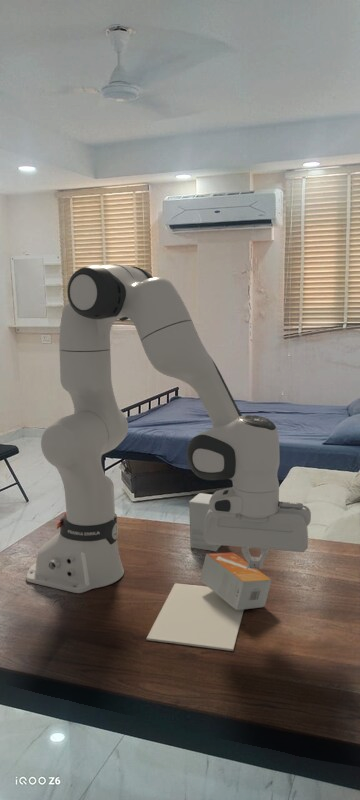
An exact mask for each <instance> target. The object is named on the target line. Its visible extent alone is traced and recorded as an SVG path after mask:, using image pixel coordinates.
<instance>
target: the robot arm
mask: <svg viewBox="0 0 360 800" xmlns="http://www.w3.org/2000/svg"><path fill="white" fill-rule="evenodd" d="M66 291H67V292H66V293H67V294H66V295H67V299H68V302H66V303H65V305H64V306H63V307H62V308H63V309H62V311H61V317H60V326H59V338H58V339H59V342H58V343H59V374H60V377H59V379H60V384H61V387H62V388H63V389H64V390H65V391H66V392H67V393H68V394H69V396H70V398H71V400H72V403H73V408H74V412H73V414H69V415H66V416H64V417H63V416H62V417H61V418H59V419H57V420H56V421H54V422H53V423H52V424H51V425H50V426H48V427H47V428H46V429H45V430H44V432H43V434H42V436H41V439H40V445H41V446H40V447H41V452H42V454H43V456H44V457H45V459H46V460H47V462H48V463H49V464H51V465H52V466H53V467H55V468H56V469H57V471H58V474H59V475H60V478H61V480H62V483H63V484H62V485H63V487H64V488H63V490H64V498H65V500H64V501H65V510H66V512H65V513H64V516H63V517H61V518H60V519H59V521H58V522H57V523H56V529H57V530H58V529H59V528H60V531H59V532H57V533H56V534H55V535H54V536H52V537H51V538H50V539H48V541H46V542H45V543H44V544H43V545H42V546H41V547H40V549H39V550H38V551H37V552H38V553H37V556H36V561H35V562H34V563H33V564H32V565H31V566H30V567H29V569H28V571H27V572H26V581H27V582H28V583H32V584H37V585H40V586H45V587H48V588H53V589H57V590H60V591H61V590H62V591H65V592H70V593H73V594H83V593H85V592H88V591H90V590H93V589H98V588H102V587H106V586H110V585H112V584H114V583H116V582H117V581H119V580H120V579H121V578H122V577H123V575H124V573H125V568H124V567H123V564H122V560H121V557H120V551H119V545H118V536H119V526H118V525H119V524H118V517H117V514H116V509H115V485H114V482H113V480H112V479H111V478H110V477H109V476H107V475H106V473H105V470H104V468H103V465H102V457H103V455H105V454H107V453H110V452H111V451H113V450H114V449H116V448H117V447H118V446H119V445H120V444H121V443H122V442H123V441H124V440H125V439H126V437H127V435H128V433H129V422H128V419H127V417H126V415H125V414H124V412H123V411H122V410H121V409H120V408H119V405H118V402H117V399H116V397H115V392H114V388H113V383H112V382H113V381H112V363H111V362H112V361H111V358H112V357H111V329H112V326H113V324H114V323H115V322H116V321H117V320H119V321H122V322H123V321H127V320H130V321H131V322H132V323H133V325H134V327H135V329H136V332H137V334H138V337H139V339H140V343H141V344H142V347H143V350H144V353H145V355H146V357H147V359H148V361H149V362H150V364H151V365H152V366H153V368H154V369H155V370H156V371H158V372H159V373H161V374H163V375H164V376H167V377H170V378H174V379H175V380H179V381H182V382H183V383H185V384H186V385H187V384H188V385H189V386H190V387H191V388H192V389H193V390H194V391H195V392H196V394H197V395H198V397H199V399H200V402H201V403H202V406H203V407H204V409H205V411H206V413H207V415H208V417H209V420H210V421H211V423H212V428H210V429H207V430H205V431H203V432H200V433H199V434H197V435H195V436H194V437H193V438H191V440H190V441H189V443H188V444H187V448H186V461H187V464H188V467H189V468H190V470H191V472H192V473H194V475H195V476H196V477H198V478H200V479H202V480H204V481H225V480H230V481H231V482H232V487H231V486H230V487H227V488H222V489H220V490H216V491H215V492H213V494H211V495H212V497H211V499H210V501H209V511H208V513H207V515H206V517H205V522H204V529H203V539H204V541H205V542H206V543H207V544H214V545H221V546H229V547H236V548H237V547H238V548H241V554H242V555H243V556H244V558H245V561H246V562H247V568H255V569H257V570H262V569H263V566H264V560H265V559H266V557H267V556H268V554H269V550H272V551H273V550H274V551H283V552H284V551H285V552H293V553H295V552H296V553H305V552H306V550H307V549H308V548H309V528H308V526H309V525H310V523H311V520H312V519H311V518H312V517H311V516H312V515H311V514H312V512H311V509H310V508H309V507H308V506H307V505H304V503H301V502H289V501H280V482H279V477H278V473H279V472H278V470H279V468H280V464H281V463H280V454H281V453H280V437H279V433H278V428H277V426H276V424H275V423H274V422H273V421H271V420H270V419H269V418H266V417H263V416H259V415H256V414H253V415H252V414H244V415H243V414H242V412H241V411H240V408H239V407H238V405H237V404H236V402H235V399H234V397H233V395H232V393H231V392H230V389H229V387H228V386H227V384H226V382H225V381H226V380H225V379H224V377H223V376H222V374H221V371H220V370H219V368H218V366H217V364H216V363H215V362H214V360H213V358H212V357H211V355H210V354H209V351H207V349H206V348H205V345H204V343H203V342H202V340H201V337H200V335H199V334H198V332H197V330H196V327H195V324H194V322H193V319H192V317H191V314H190V312H189V310H188V309H187V306H186V305H185V302H184V301H183V299H182V297H181V295H180V293H179V292H178V290H177V289H176V287H175V286H174V284H173V282H171V281H170V280H169V279H167V278H164V277H158V276H157V277H156V276H155V277H153V276H152V274H151V273H149V272H148V271H146V270H145V269H143V268H140V267H138V266H129V265H124V264H115V263H113V264H108V265H107V264H104V265H100V264H99V265H98V264H92V265H87V266H83V267H81V268H79V269H77V270H76V271H74V273H73V274H72V275H71V276H70V278H69V281H68V283H67V290H66ZM250 549H260V556H252V555H251V553H250Z"/></svg>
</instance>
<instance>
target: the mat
mask: <svg viewBox="0 0 360 800" xmlns="http://www.w3.org/2000/svg"><path fill="white" fill-rule="evenodd" d="M244 611H245V609H242V610H235V609H234V608H233V607H232V606H231V605H230V604H228V603H227V602H226V601H225V600H224V599H222V598H221V597H220V596H219V595H218V594H216V593H215V592H214V591H213V590H211V589H210V588H209V587H208V586H207V585H204V586H203V585H194V584H186V583H176V582H175V583H174V585H173V586H172V588H171V590H170V592H169V594H168V596H167V598H166V600H165V601H164V604H163V605H162V608H161V610H160V611H159V613H158V615H157V617H156V619H155V620H154V623H153V625H152V627H151V629H150V630H149V633H148V635H147V637H146V641H151V642H160V643H166V644H168V643H169V644H173V645H174V644H175V645H181V646H182V645H184V646H190V647H191V646H192V647H199V648H207V649H214V650H221V651H228V652H231V651H232V652H234V650H235V646H236V641H237V637H238V634H239V630H240V626H241V623H242V619H243V614H244Z"/></svg>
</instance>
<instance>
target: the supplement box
mask: <svg viewBox="0 0 360 800" xmlns="http://www.w3.org/2000/svg"><path fill="white" fill-rule="evenodd" d="M212 495H213V494H209V493H202V492H200V493H198V494H197V495H195V496H194V497H193V498H192V499H190V500H189V501H188V505H189V506H188V508H189V542H190V544H189V545H190V548H193V549H197V550H198V549H199V550H206V551H209V552H218V550H219V549H220V548H221V546H222V545H214V544H207V543H206V542H205V541H204V539H203V529H204V522H205V517H206V515H207V513H208V511H209V501H210V499H211V497H212Z"/></svg>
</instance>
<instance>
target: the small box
mask: <svg viewBox="0 0 360 800" xmlns="http://www.w3.org/2000/svg"><path fill="white" fill-rule="evenodd" d="M199 581H200V582H201V583H203V584H204V586H207V587H209V588H210V589H211V590H213V591H214V592H215V593H216V594H218V595H219V596H220V597H221V598H222V599H224V600H225V601H226V602H227V603H228V604H230V605H231V606H232V607H233V608H234V609H235V610H242V609H244V610H249V609H258V608H264V607H266V603H267V599H268V595H269V590H270V588H271V584H272V579H271V578H270V577H268V576H267V575H265V573H263V572H261V571H260V569H255V568H247V560H244V559H243V558H242V557H241V556H239V555H237V554H236V553H235V552H215V553H205V558H204V562H203V565H202V569H201V574H200V578H199Z"/></svg>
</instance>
